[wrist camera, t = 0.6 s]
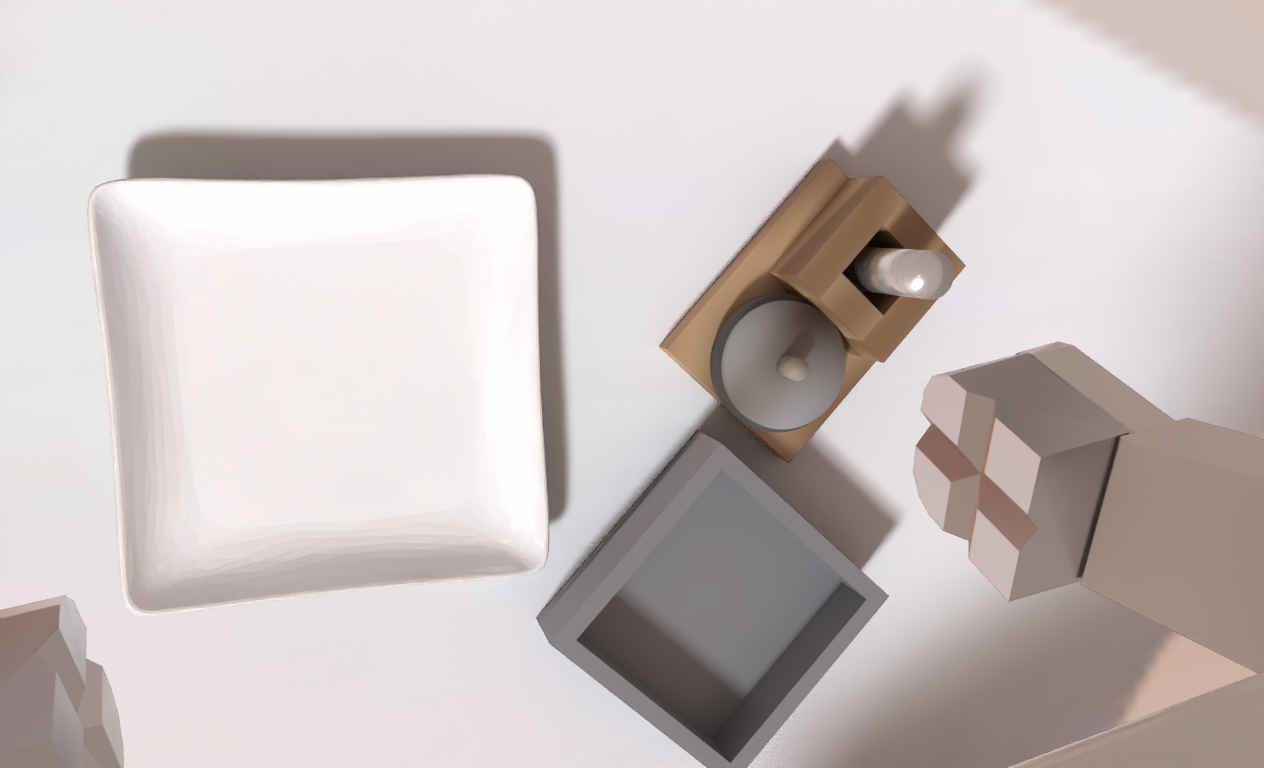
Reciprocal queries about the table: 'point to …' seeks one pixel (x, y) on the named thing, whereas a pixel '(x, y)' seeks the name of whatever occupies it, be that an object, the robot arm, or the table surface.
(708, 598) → the tray
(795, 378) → the pulley bracket
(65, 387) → the table surface
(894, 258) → the lock pin
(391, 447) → the salad plate
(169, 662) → the table surface
